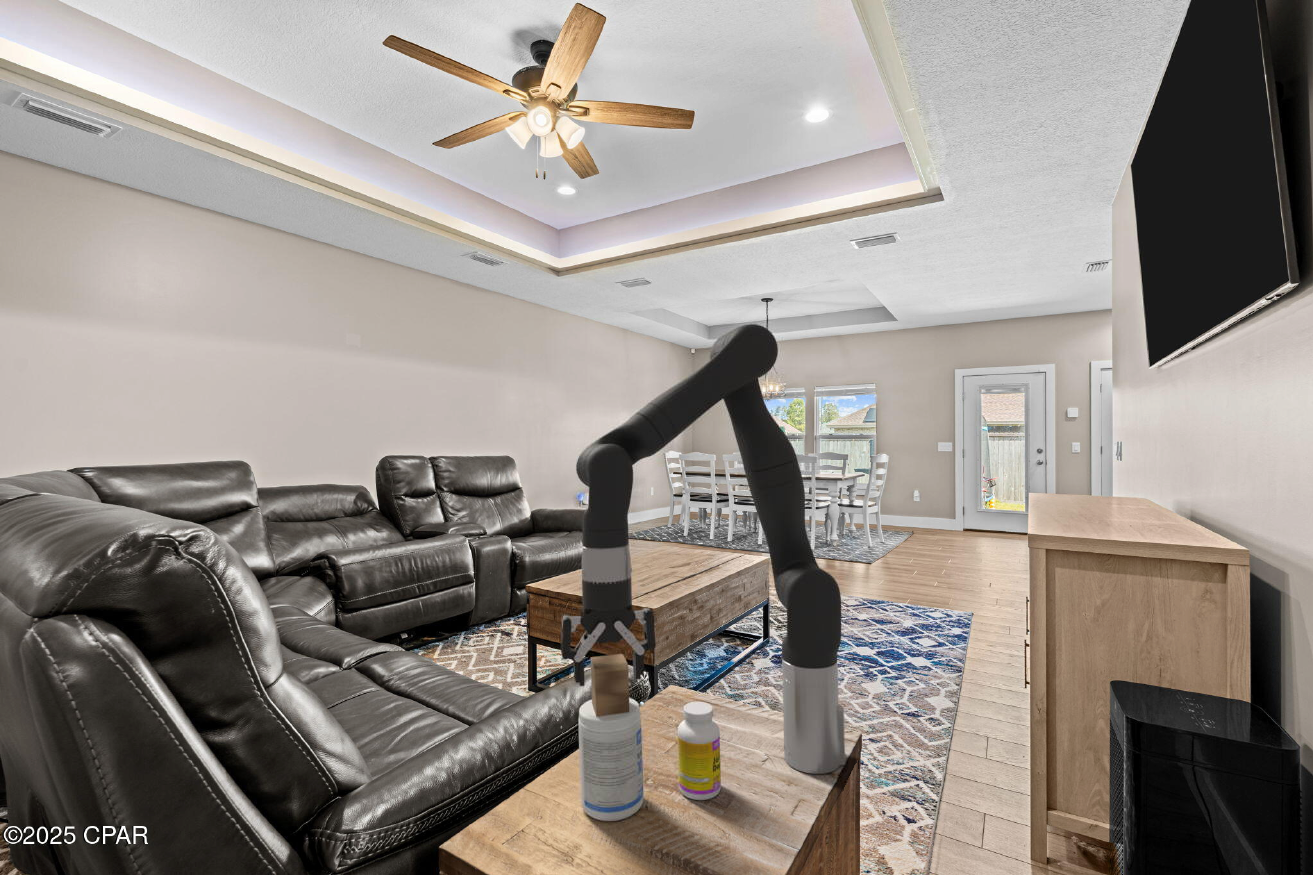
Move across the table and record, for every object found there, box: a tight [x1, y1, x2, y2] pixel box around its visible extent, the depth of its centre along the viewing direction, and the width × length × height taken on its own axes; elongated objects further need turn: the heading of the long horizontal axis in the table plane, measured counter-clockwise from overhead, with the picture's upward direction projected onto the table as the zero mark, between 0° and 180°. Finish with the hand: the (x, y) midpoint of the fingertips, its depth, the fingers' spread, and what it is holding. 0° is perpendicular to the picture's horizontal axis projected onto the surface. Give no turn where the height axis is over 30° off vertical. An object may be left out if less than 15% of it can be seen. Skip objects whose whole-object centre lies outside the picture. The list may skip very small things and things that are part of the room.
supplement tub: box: [578, 697, 645, 822], centre depth 90 cm, size 10×10×15 cm
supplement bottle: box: [677, 701, 722, 801], centre depth 94 cm, size 7×7×13 cm
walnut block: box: [590, 653, 630, 717], centre depth 91 cm, size 5×5×7 cm
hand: (609, 680), depth 91 cm, fingers open, 8 cm apart
